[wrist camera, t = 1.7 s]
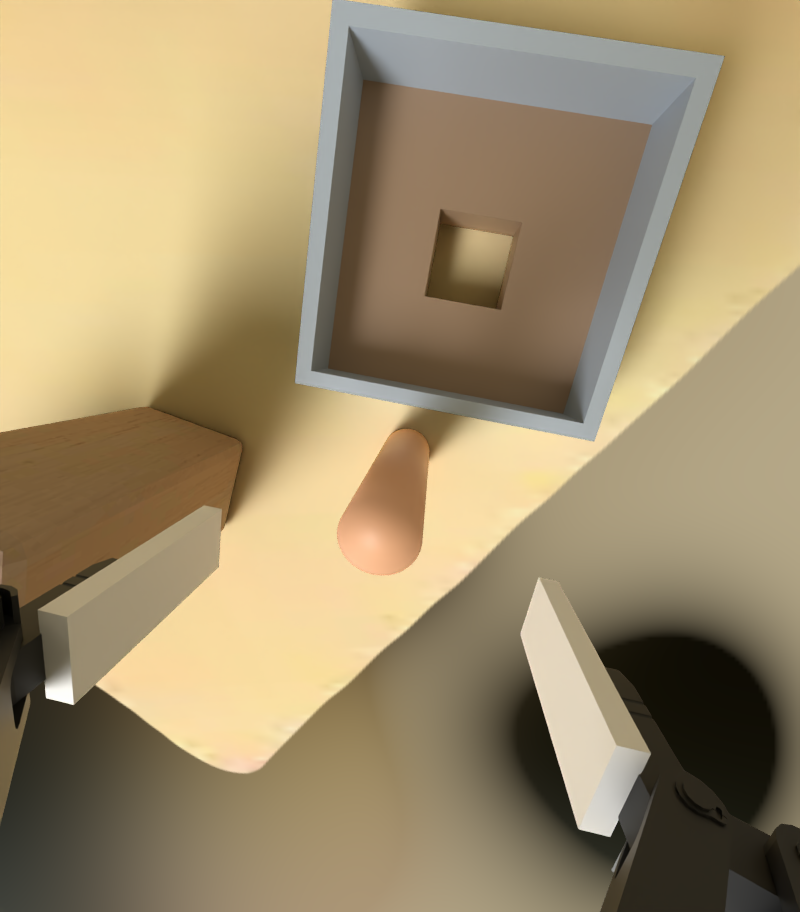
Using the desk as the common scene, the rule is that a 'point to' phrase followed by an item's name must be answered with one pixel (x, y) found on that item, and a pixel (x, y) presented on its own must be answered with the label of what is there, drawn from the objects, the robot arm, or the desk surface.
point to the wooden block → (102, 490)
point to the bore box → (490, 209)
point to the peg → (388, 508)
